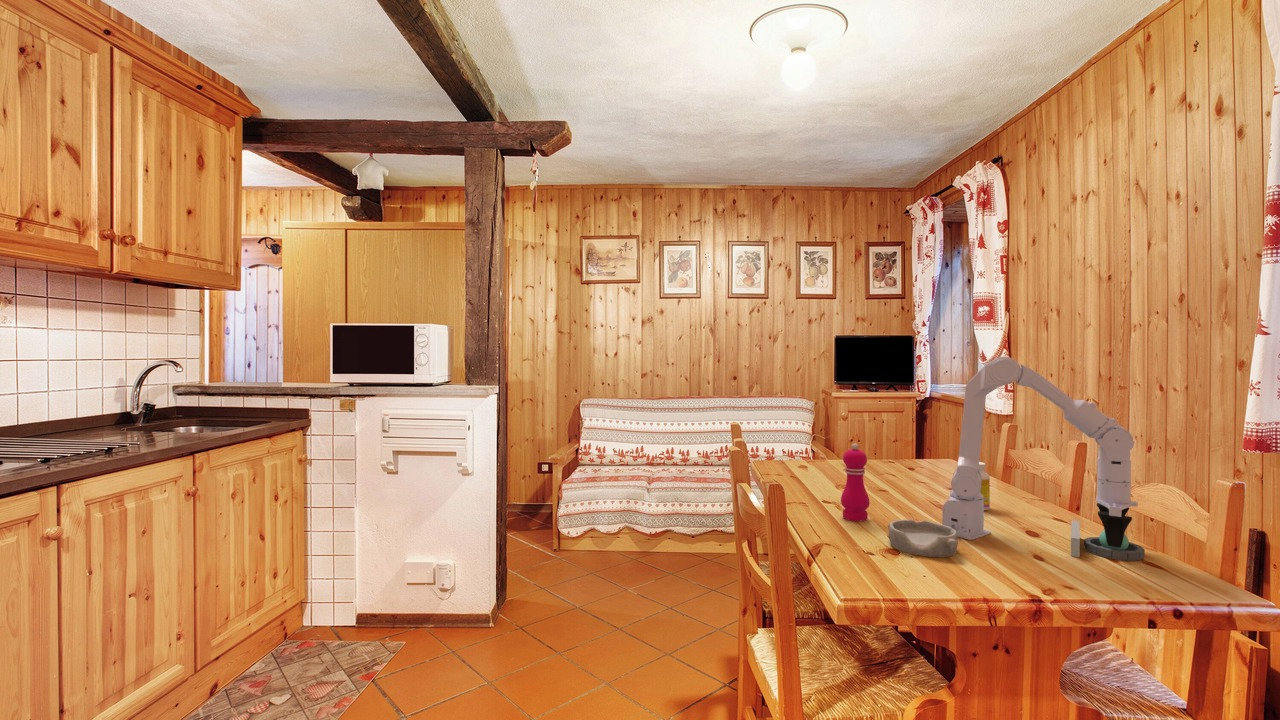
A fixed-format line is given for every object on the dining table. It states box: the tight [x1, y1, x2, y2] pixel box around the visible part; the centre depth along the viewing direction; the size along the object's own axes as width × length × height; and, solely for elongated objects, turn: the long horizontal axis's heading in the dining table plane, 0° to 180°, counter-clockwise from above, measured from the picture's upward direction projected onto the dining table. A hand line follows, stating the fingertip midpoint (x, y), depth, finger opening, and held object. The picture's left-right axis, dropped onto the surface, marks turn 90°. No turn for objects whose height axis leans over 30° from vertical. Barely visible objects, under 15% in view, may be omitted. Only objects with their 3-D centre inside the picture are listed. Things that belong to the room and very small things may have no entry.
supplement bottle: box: [979, 461, 991, 511], centre depth 162 cm, size 7×7×13 cm
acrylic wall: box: [1070, 519, 1081, 558], centre depth 131 cm, size 16×2×4 cm, turn 143°
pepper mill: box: [840, 443, 870, 522], centre depth 154 cm, size 7×7×20 cm
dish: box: [887, 519, 959, 558], centre depth 131 cm, size 14×14×5 cm
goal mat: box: [1083, 536, 1146, 562], centre depth 126 cm, size 10×10×2 cm
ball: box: [1098, 529, 1130, 551], centre depth 126 cm, size 5×5×5 cm
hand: (1113, 541), depth 126 cm, fingers open, 7 cm apart
